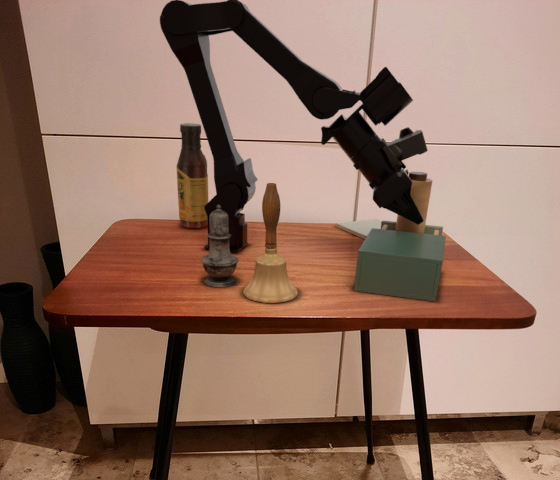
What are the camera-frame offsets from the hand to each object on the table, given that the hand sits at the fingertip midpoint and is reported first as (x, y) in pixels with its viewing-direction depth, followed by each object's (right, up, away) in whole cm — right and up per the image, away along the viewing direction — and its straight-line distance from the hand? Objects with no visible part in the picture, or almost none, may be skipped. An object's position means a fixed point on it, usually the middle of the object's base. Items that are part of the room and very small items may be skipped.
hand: (419, 218), depth 95 cm
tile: (-5, +4, +22) cm, 23 cm away
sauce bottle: (-43, +4, +21) cm, 48 cm away
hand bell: (-26, -15, -12) cm, 32 cm away
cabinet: (-5, -12, -6) cm, 14 cm away
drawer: (-1, -6, +4) cm, 7 cm away
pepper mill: (-2, -5, +3) cm, 6 cm away
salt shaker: (-34, -13, -9) cm, 37 cm away
